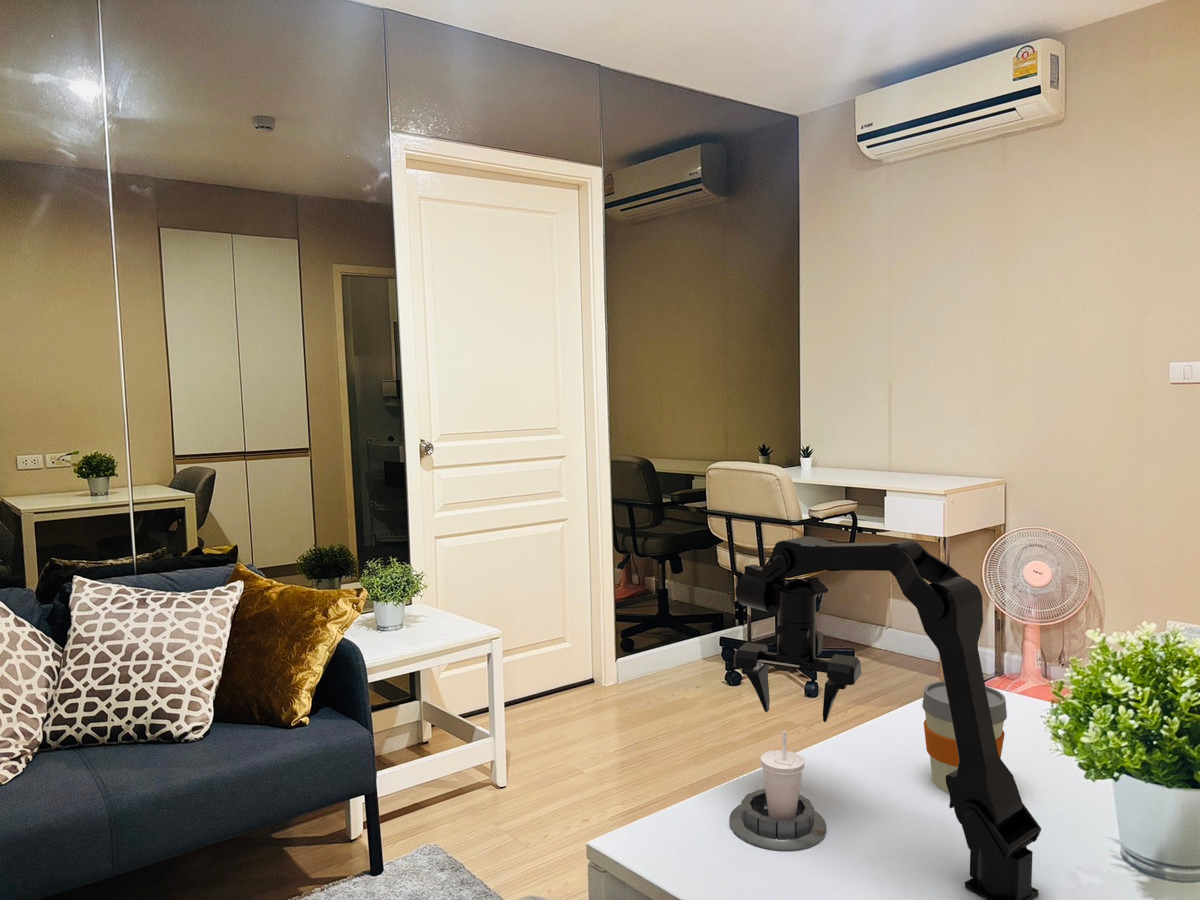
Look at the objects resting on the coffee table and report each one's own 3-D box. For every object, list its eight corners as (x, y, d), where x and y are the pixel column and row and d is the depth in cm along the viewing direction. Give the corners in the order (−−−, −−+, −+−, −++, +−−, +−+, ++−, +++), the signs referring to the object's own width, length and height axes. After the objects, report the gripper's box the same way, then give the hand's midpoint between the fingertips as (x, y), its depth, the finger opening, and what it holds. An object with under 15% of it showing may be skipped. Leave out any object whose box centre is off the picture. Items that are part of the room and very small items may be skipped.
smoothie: (773, 836, 125) (774, 741, 123) (752, 815, 131) (752, 724, 130) (812, 829, 127) (813, 735, 125) (789, 808, 133) (790, 719, 132)
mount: (846, 832, 127) (847, 811, 127) (776, 861, 119) (776, 839, 119) (778, 794, 139) (778, 775, 138) (710, 818, 131) (710, 798, 131)
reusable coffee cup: (925, 798, 137) (927, 705, 136) (916, 763, 149) (918, 677, 148) (1012, 806, 134) (1015, 711, 133) (996, 770, 146) (998, 683, 145)
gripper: (868, 612, 138) (866, 708, 140) (754, 599, 147) (753, 690, 148) (854, 631, 128) (852, 734, 130) (732, 616, 137) (732, 712, 138)
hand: (795, 716), depth 137 cm, fingers open, 9 cm apart
